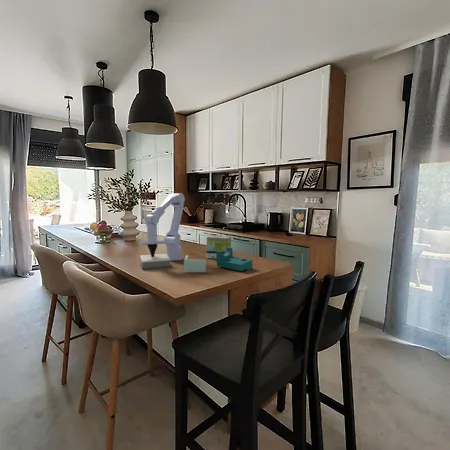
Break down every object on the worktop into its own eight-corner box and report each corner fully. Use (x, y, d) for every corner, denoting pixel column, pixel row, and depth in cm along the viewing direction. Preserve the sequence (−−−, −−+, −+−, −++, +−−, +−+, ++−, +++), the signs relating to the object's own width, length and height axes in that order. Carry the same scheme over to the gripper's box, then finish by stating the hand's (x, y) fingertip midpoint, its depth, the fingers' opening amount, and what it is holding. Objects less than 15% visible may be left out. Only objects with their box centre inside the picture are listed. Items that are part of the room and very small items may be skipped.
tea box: (206, 258, 191) (206, 236, 189) (210, 255, 201) (210, 235, 199) (227, 259, 187) (228, 237, 186) (231, 256, 197) (231, 235, 196)
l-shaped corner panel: (205, 273, 156) (205, 259, 156) (184, 273, 156) (183, 259, 155) (206, 267, 168) (206, 255, 168) (186, 267, 168) (186, 255, 167)
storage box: (166, 262, 180) (166, 255, 180) (170, 267, 167) (170, 260, 167) (140, 264, 174) (140, 257, 174) (142, 269, 161) (142, 262, 161)
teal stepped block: (217, 268, 167) (216, 251, 166) (228, 263, 176) (227, 247, 174) (241, 273, 156) (240, 255, 154) (252, 268, 164) (251, 250, 162)
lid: (166, 254, 180) (166, 253, 179) (170, 260, 167) (170, 259, 167) (140, 256, 174) (140, 255, 174) (142, 262, 161) (142, 261, 161)
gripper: (162, 232, 178) (162, 254, 179) (138, 234, 171) (139, 256, 172) (165, 234, 172) (165, 256, 173) (140, 235, 165) (141, 258, 166)
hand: (152, 256), depth 172 cm, fingers closed, pressing on lid
